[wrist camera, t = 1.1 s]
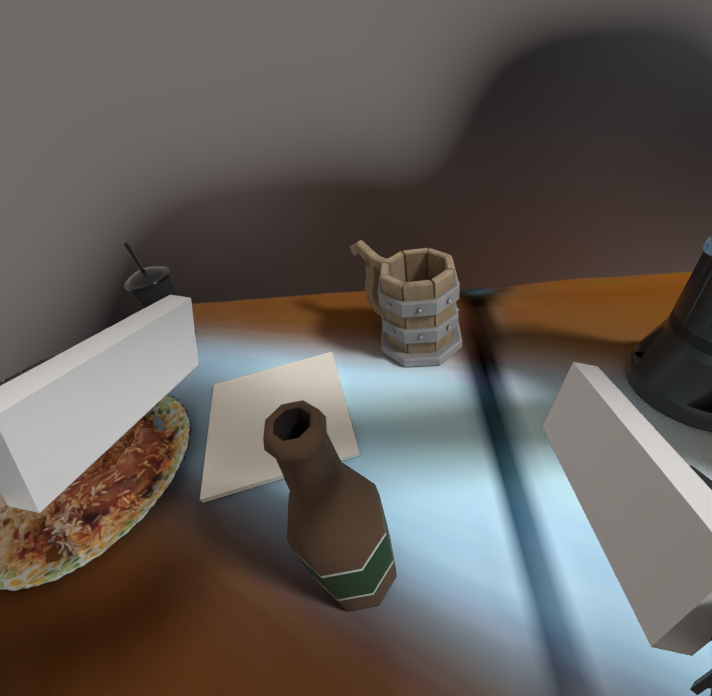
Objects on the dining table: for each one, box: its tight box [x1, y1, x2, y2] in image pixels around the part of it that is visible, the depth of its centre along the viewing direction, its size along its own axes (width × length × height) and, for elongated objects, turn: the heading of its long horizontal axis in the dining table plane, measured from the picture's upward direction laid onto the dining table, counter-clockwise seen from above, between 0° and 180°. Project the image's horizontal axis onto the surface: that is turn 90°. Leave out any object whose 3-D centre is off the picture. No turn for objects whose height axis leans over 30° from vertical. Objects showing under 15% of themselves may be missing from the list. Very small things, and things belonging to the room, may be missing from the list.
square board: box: [200, 352, 360, 503], centre depth 51 cm, size 20×20×1 cm
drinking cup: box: [124, 243, 196, 333], centre depth 64 cm, size 8×8×20 cm
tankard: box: [350, 240, 462, 367], centre depth 56 cm, size 20×13×15 cm, turn 40°
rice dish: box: [0, 395, 191, 592], centre depth 47 cm, size 28×28×5 cm
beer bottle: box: [263, 400, 396, 612], centre depth 27 cm, size 8×8×24 cm
